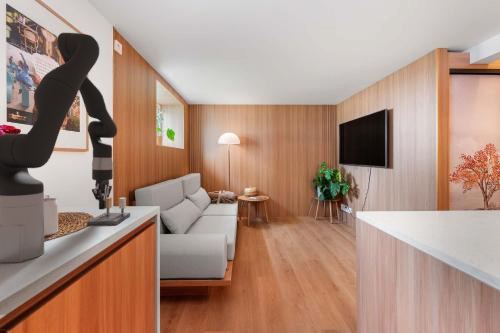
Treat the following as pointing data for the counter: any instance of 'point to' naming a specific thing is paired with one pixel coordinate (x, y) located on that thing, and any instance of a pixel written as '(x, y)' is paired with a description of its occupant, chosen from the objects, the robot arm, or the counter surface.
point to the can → (50, 216)
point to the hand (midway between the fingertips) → (102, 209)
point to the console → (108, 219)
